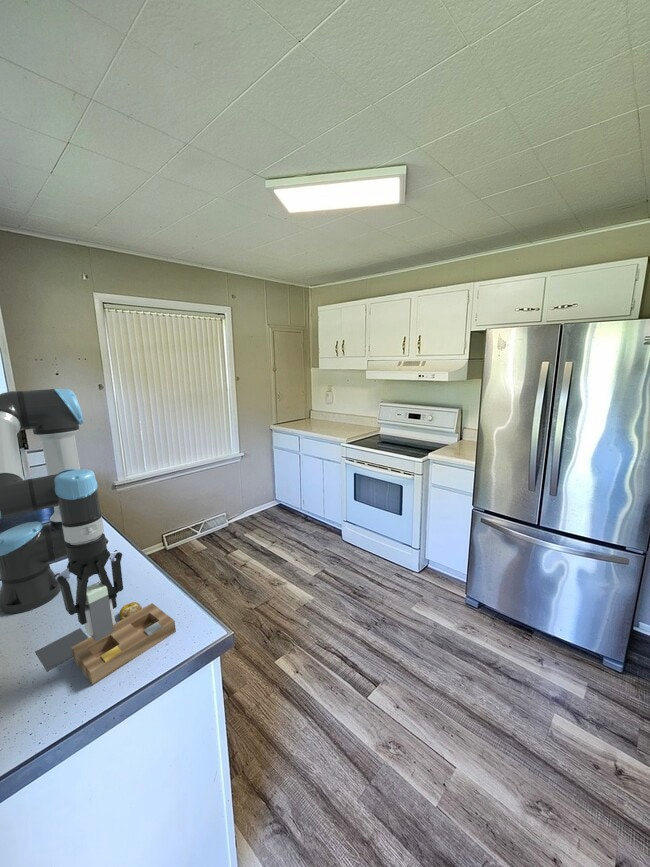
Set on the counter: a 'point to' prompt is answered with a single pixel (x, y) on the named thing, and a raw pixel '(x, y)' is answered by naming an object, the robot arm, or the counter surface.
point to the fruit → (129, 609)
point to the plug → (99, 610)
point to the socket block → (123, 643)
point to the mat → (60, 649)
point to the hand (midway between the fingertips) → (100, 626)
